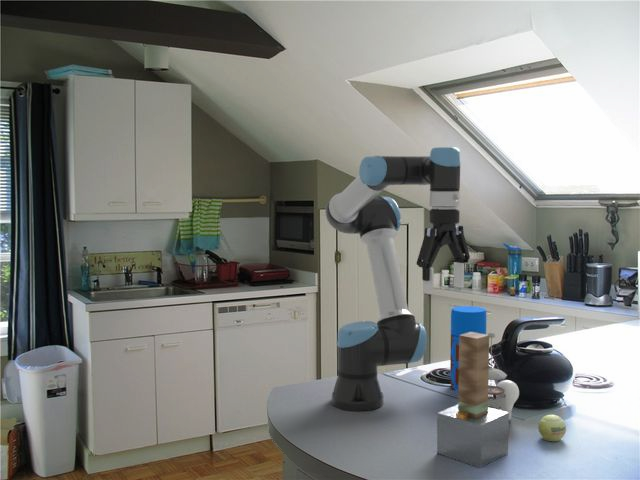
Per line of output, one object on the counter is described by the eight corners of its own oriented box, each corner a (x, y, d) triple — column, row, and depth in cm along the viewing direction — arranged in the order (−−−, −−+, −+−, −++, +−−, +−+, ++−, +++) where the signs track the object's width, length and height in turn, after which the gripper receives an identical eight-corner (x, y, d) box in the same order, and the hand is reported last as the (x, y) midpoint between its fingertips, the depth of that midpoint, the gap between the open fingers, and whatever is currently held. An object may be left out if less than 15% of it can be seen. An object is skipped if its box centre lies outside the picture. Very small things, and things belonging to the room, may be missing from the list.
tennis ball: (547, 418, 172) (570, 415, 174) (531, 413, 179) (554, 410, 180) (549, 444, 172) (572, 441, 174) (533, 439, 178) (556, 435, 180)
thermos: (483, 383, 224) (484, 306, 222) (487, 393, 214) (489, 312, 211) (448, 382, 225) (449, 305, 223) (451, 392, 215) (452, 312, 213)
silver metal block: (437, 453, 167) (437, 408, 166) (465, 440, 176) (465, 397, 175) (480, 468, 159) (481, 420, 158) (507, 453, 167) (508, 408, 166)
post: (458, 426, 167) (459, 335, 165) (469, 420, 170) (470, 331, 168) (476, 431, 163) (477, 338, 161) (487, 425, 167) (489, 335, 165)
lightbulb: (518, 417, 192) (519, 378, 191) (518, 425, 186) (519, 384, 185) (494, 415, 194) (495, 376, 193) (493, 422, 188) (494, 382, 187)
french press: (503, 434, 180) (504, 338, 178) (459, 426, 186) (460, 333, 184) (514, 422, 188) (515, 330, 186) (472, 415, 194) (473, 326, 192)
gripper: (427, 210, 168) (426, 297, 170) (483, 206, 185) (482, 286, 187) (402, 209, 173) (402, 294, 175) (459, 206, 191) (458, 283, 192)
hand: (443, 290), depth 181 cm, fingers open, 13 cm apart
